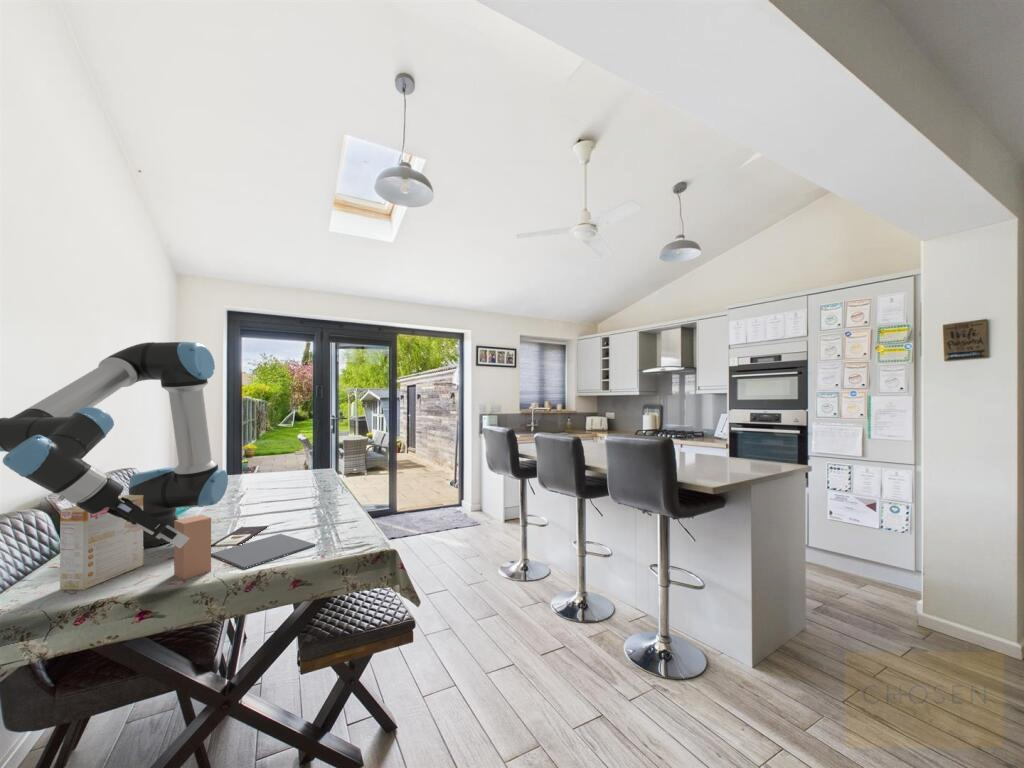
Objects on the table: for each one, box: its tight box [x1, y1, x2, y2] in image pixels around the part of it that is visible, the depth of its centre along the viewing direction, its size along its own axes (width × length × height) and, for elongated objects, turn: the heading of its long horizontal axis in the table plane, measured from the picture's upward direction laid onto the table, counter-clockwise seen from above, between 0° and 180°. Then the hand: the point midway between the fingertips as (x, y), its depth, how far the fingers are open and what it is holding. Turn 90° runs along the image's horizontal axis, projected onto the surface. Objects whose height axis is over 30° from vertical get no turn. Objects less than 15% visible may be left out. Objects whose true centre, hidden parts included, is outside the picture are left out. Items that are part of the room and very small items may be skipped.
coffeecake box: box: [59, 494, 144, 591], centre depth 108 cm, size 15×7×20 cm, turn 174°
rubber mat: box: [211, 533, 316, 569], centre depth 124 cm, size 20×20×1 cm
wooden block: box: [173, 514, 212, 580], centre depth 109 cm, size 6×6×14 cm
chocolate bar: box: [211, 525, 269, 548], centre depth 138 cm, size 9×1×18 cm
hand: (173, 538), depth 105 cm, fingers open, 13 cm apart
